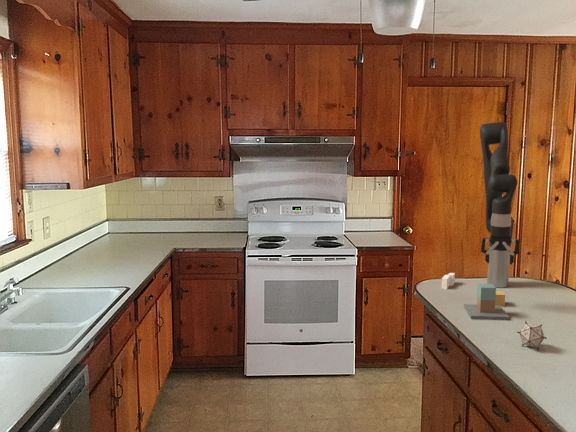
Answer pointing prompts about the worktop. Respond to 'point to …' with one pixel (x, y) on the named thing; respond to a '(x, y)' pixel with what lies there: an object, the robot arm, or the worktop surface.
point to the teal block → (486, 292)
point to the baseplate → (485, 315)
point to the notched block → (448, 280)
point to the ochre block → (500, 298)
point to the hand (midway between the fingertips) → (499, 263)
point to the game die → (532, 335)
